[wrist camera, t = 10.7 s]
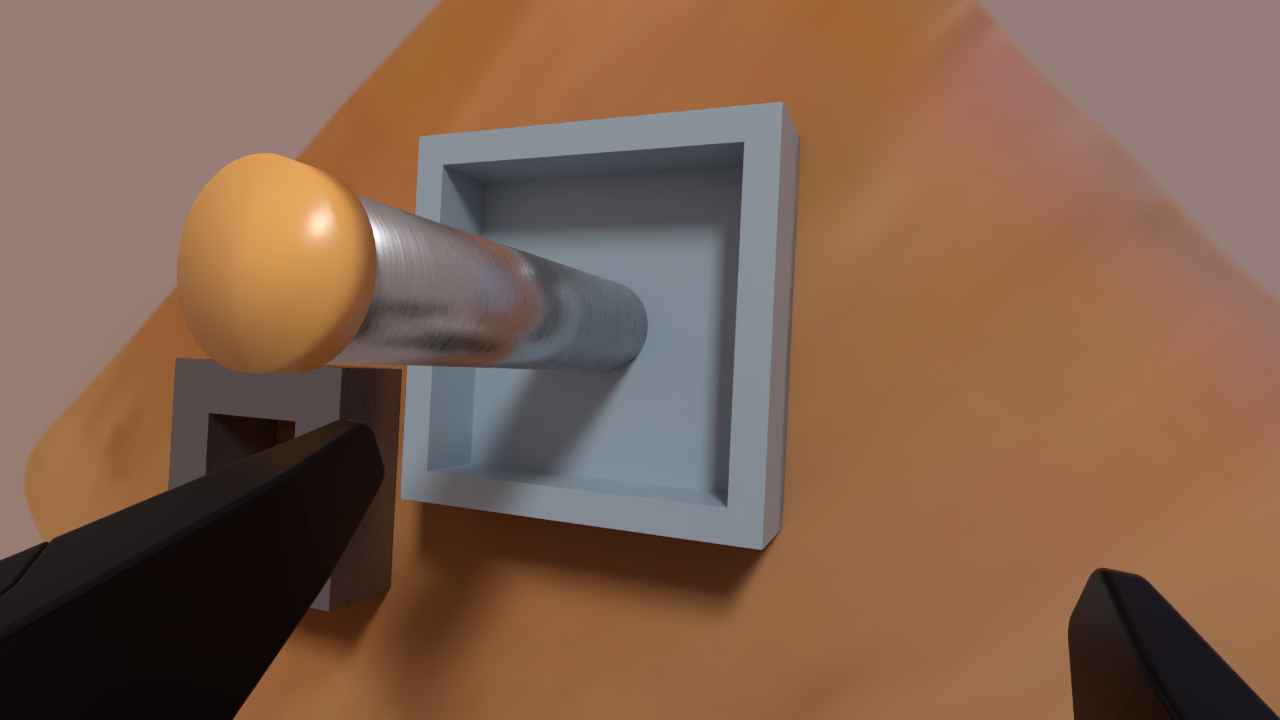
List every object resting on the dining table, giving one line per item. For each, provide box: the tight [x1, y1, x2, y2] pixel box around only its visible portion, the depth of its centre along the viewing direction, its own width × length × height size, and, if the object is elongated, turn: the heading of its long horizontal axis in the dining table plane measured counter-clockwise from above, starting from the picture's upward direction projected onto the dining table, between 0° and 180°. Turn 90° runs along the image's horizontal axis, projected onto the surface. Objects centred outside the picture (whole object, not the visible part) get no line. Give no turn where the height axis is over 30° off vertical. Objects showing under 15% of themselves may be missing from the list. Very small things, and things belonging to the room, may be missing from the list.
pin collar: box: [168, 358, 401, 612], centre depth 27 cm, size 8×8×3 cm
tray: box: [401, 102, 800, 550], centre depth 22 cm, size 12×12×3 cm
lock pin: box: [177, 153, 648, 373], centre depth 17 cm, size 3×3×13 cm
